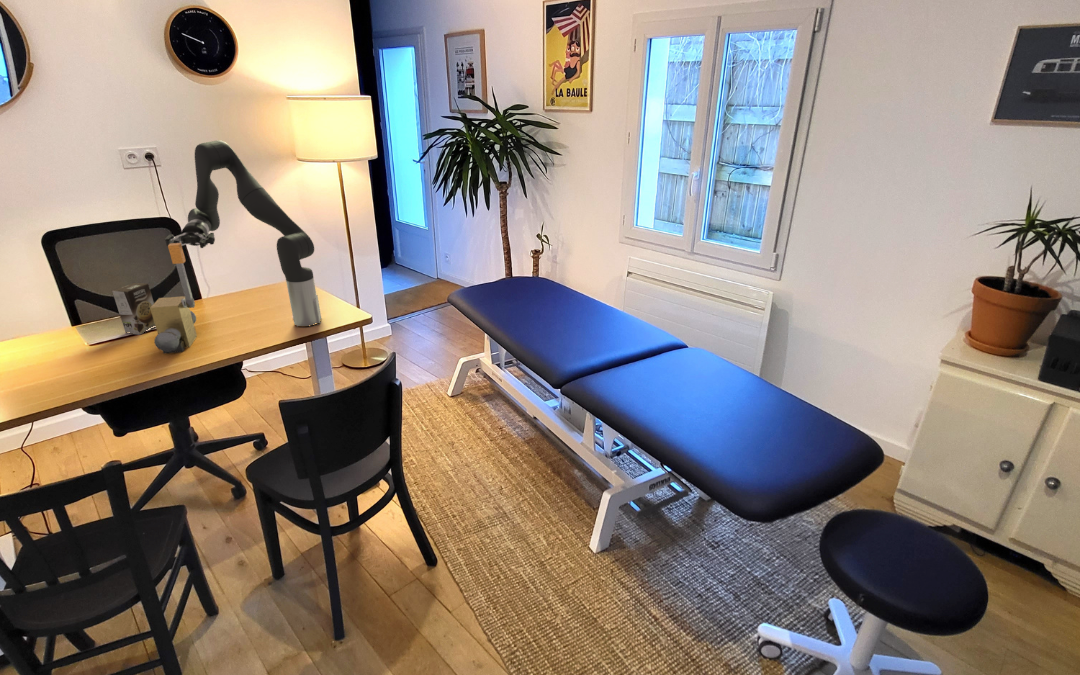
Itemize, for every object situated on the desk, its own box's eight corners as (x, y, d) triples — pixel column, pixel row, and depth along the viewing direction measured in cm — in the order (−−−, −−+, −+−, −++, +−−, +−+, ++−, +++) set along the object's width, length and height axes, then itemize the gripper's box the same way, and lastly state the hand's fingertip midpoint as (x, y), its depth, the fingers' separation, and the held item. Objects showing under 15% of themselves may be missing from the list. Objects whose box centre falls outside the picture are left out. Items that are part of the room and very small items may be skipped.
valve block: (204, 329, 199) (193, 288, 192) (187, 354, 180) (174, 310, 174) (176, 331, 197) (164, 290, 190) (156, 357, 178) (142, 313, 172)
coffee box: (140, 335, 194) (126, 291, 187) (124, 333, 195) (110, 290, 188) (161, 325, 202) (149, 283, 195) (146, 323, 203) (133, 281, 196)
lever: (197, 305, 187) (181, 242, 178) (195, 308, 184) (178, 245, 175) (187, 306, 186) (170, 243, 177) (185, 309, 183) (167, 245, 174)
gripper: (170, 222, 195) (159, 236, 182) (215, 221, 200) (208, 234, 186) (175, 243, 199) (165, 257, 185) (220, 241, 203) (213, 255, 190)
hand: (186, 246), depth 186 cm, fingers open, 8 cm apart
